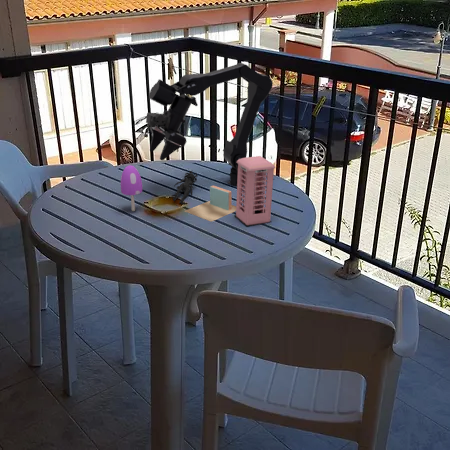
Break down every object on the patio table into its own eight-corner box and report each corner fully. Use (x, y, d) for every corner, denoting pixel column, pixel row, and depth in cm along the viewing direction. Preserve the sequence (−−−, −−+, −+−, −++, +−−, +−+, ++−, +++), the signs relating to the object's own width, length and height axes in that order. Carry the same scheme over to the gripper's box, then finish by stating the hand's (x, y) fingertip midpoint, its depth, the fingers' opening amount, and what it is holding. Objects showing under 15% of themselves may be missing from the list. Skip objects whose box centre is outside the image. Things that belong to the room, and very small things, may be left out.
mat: (214, 199, 184) (214, 198, 184) (241, 209, 177) (241, 208, 177) (184, 212, 175) (184, 211, 175) (211, 222, 167) (211, 221, 167)
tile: (213, 202, 181) (213, 185, 178) (231, 209, 176) (231, 191, 173) (210, 204, 180) (209, 186, 177) (228, 210, 175) (228, 192, 172)
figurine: (171, 192, 178) (188, 163, 192) (162, 204, 182) (179, 175, 196) (188, 203, 179) (204, 174, 193) (179, 215, 183) (195, 186, 197)
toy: (147, 208, 178) (145, 164, 171) (136, 216, 172) (133, 170, 166) (130, 205, 180) (127, 161, 174) (118, 212, 175) (114, 167, 168)
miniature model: (233, 217, 171) (233, 155, 163) (259, 212, 175) (261, 151, 166) (247, 228, 163) (248, 164, 155) (274, 223, 167) (276, 159, 159)
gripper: (146, 95, 181) (125, 138, 184) (167, 109, 166) (144, 155, 169) (173, 109, 187) (153, 150, 190) (196, 123, 173) (174, 167, 176)
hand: (155, 155), depth 181 cm, fingers open, 9 cm apart
